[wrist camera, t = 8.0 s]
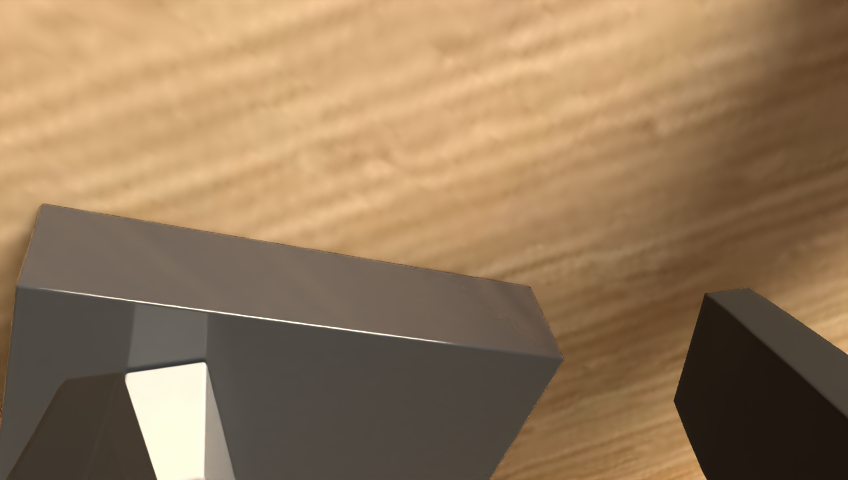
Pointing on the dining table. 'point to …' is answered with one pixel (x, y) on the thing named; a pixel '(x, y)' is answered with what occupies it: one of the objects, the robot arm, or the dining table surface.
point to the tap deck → (282, 347)
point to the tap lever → (180, 422)
